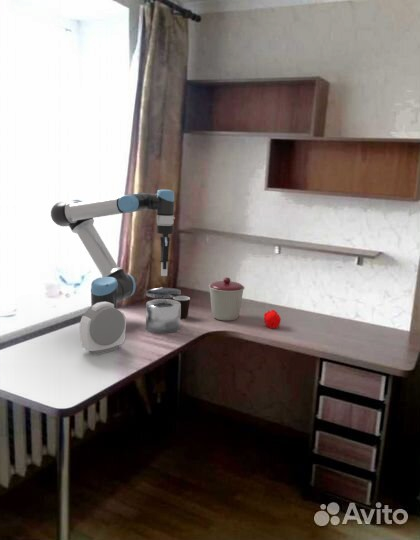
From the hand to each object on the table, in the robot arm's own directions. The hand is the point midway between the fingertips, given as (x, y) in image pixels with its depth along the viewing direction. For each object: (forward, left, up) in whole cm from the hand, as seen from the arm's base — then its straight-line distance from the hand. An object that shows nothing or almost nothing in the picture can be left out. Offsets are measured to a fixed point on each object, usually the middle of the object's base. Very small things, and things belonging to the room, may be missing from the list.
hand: (164, 275), depth 232 cm
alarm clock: (-27, -26, -26) cm, 45 cm away
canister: (+33, +14, -26) cm, 44 cm away
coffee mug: (+11, +18, -26) cm, 33 cm away
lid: (0, +1, -9) cm, 9 cm away
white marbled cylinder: (0, 0, -25) cm, 25 cm away
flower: (+53, -2, -26) cm, 59 cm away
